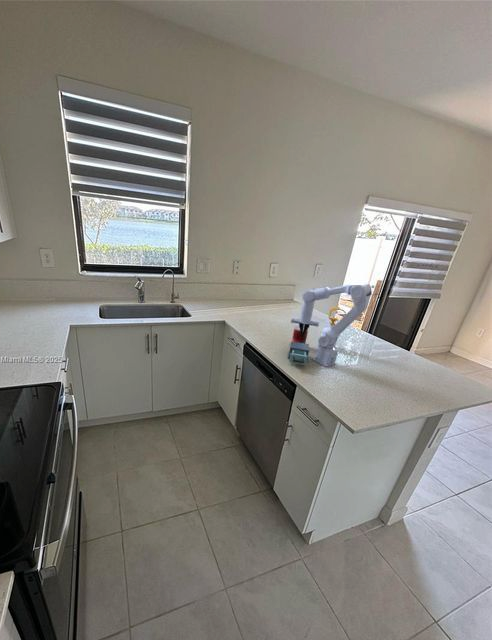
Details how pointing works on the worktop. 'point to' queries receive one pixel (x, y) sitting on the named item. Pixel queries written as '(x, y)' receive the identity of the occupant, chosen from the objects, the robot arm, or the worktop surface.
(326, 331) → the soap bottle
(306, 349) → the dispenser
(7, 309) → the worktop surface
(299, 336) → the canned food
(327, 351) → the robot arm
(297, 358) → the detergent tray
